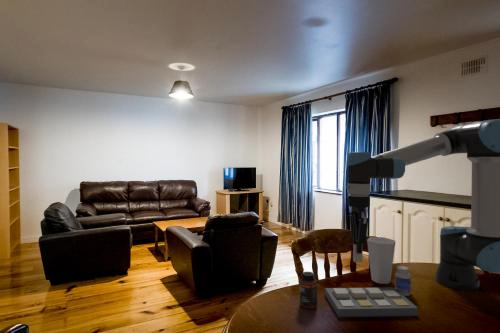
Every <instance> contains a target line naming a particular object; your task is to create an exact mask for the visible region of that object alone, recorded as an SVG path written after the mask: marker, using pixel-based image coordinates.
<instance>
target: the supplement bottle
mask: <svg viewBox="0 0 500 333" xmlns="http://www.w3.org/2000/svg"><path fill="white" fill-rule="evenodd" d="M299 305H300V306H301V308H303V309H306V310H309V309H310V310H314V309H315V308H317V307H318V281H317V280H316V279H315V273H314V272H312V271H303V272H302V278H300V280H299Z"/></svg>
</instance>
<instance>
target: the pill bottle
mask: <svg viewBox="0 0 500 333" xmlns="http://www.w3.org/2000/svg"><path fill="white" fill-rule="evenodd" d="M409 272H410V268H409V267H407V266H404V265H398V266H397V267H396V271H395V275H394V277H395V278H394V283H395V284H394V285H395V286H394V288H395V289H396V290H397V291H399V292H400V293H401V294H402V295H403V296H404V297H408V296H410V295H411V294H412V275H411V274H410V273H409Z"/></svg>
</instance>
